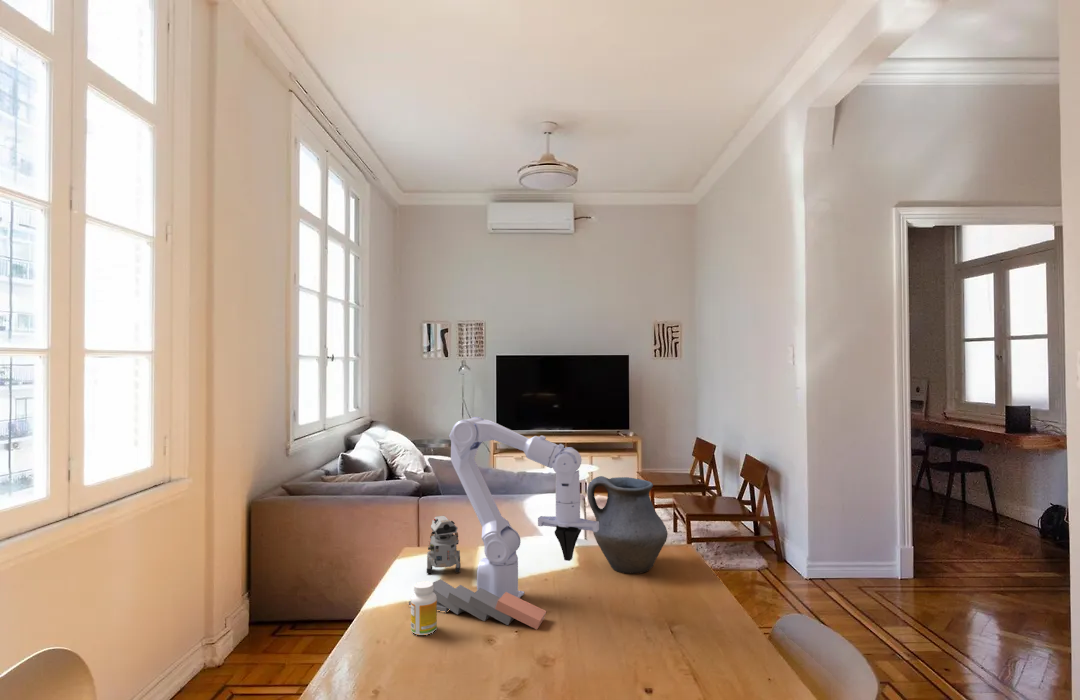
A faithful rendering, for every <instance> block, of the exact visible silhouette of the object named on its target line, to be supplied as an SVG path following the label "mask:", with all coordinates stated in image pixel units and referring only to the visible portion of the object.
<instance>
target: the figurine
mask: <svg viewBox="0 0 1080 700" xmlns="http://www.w3.org/2000/svg"><path fill="white" fill-rule="evenodd" d="M431 521H432V522H431V525H430V529H431V530H432V531H431V533H430V534H429V536H430V537H429V538H430V539H429V541H428V544H427V550H428V551H427V554H426V555H427V556H426V558H427V559H426V566H427V567H426V574H427V573H431V574H432V572H433V568H450V567H452V566H455V569H454V570H455V573H456V572H460V573H461V567H462V566H461V551H460V550H457V545H459V541H460V540H459V532H458V526H456V523H455V522H454V521H453V520H450V519H448V518H447V517H446V516H445V515H437V516H434V518H433V519H432V520H431Z"/></svg>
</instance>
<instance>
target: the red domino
mask: <svg viewBox="0 0 1080 700" xmlns="http://www.w3.org/2000/svg"><path fill="white" fill-rule="evenodd" d="M495 609H496V610H498V611H500V612H502V613H504V614H506V615H508V616H510V617H512V618H514V619H515V620H517V621H519V622H521V623H522V624H525V625H527V626H529V627H530V628H533V629H535V630H538V629H539V627H540V626H541V625H542V623H543V621H544V620H545V617H546V613H547V610H545V609H543V608H540V607H539V606H536V605H535V604H533V603H529V602H528V601H526V600H523V599H522V598H521V597H520V598H518V597H516V596H514V595H512V594H509V593H507V592H505V593H504V594H503V595H502V597H501V598H500V599H499V600H498V602H497V605H496V608H495ZM514 619H513V620H514Z"/></svg>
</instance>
